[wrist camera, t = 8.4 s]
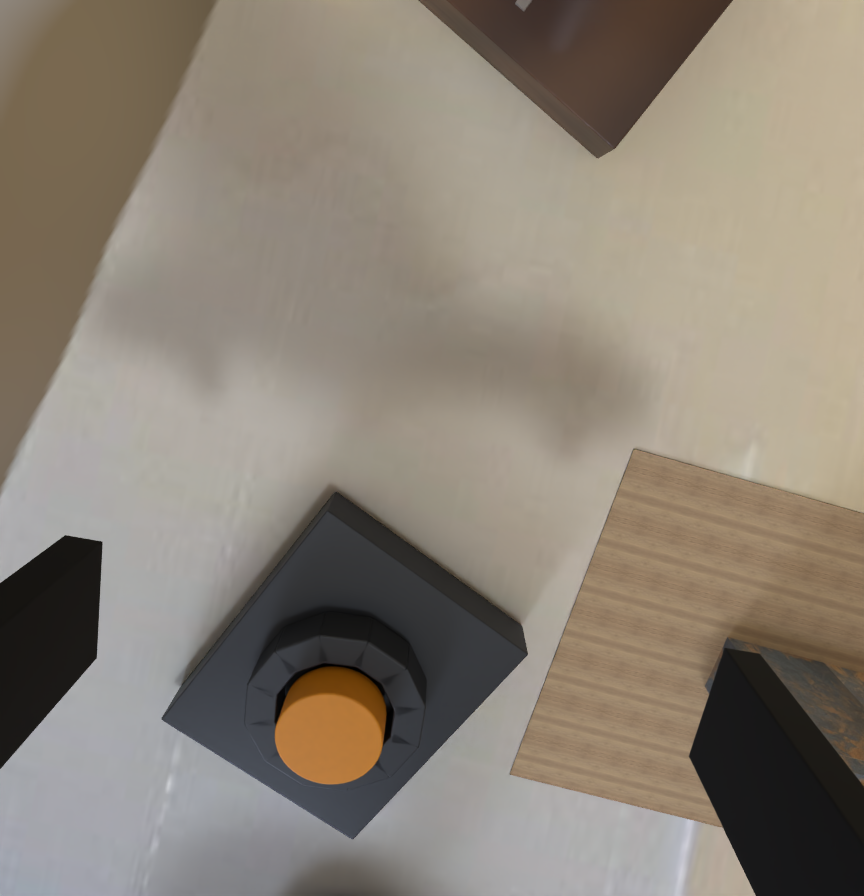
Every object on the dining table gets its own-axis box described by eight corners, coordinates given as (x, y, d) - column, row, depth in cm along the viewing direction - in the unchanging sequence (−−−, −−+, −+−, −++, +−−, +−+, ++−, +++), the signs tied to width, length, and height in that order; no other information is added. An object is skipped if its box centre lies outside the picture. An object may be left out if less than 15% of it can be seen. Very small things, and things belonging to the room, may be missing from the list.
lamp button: (264, 716, 27) (253, 747, 26) (324, 646, 26) (315, 673, 25) (347, 769, 28) (340, 803, 26) (407, 703, 27) (404, 733, 25)
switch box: (179, 687, 31) (142, 749, 27) (335, 490, 28) (318, 528, 24) (358, 802, 33) (347, 876, 29) (522, 625, 30) (534, 681, 26)
